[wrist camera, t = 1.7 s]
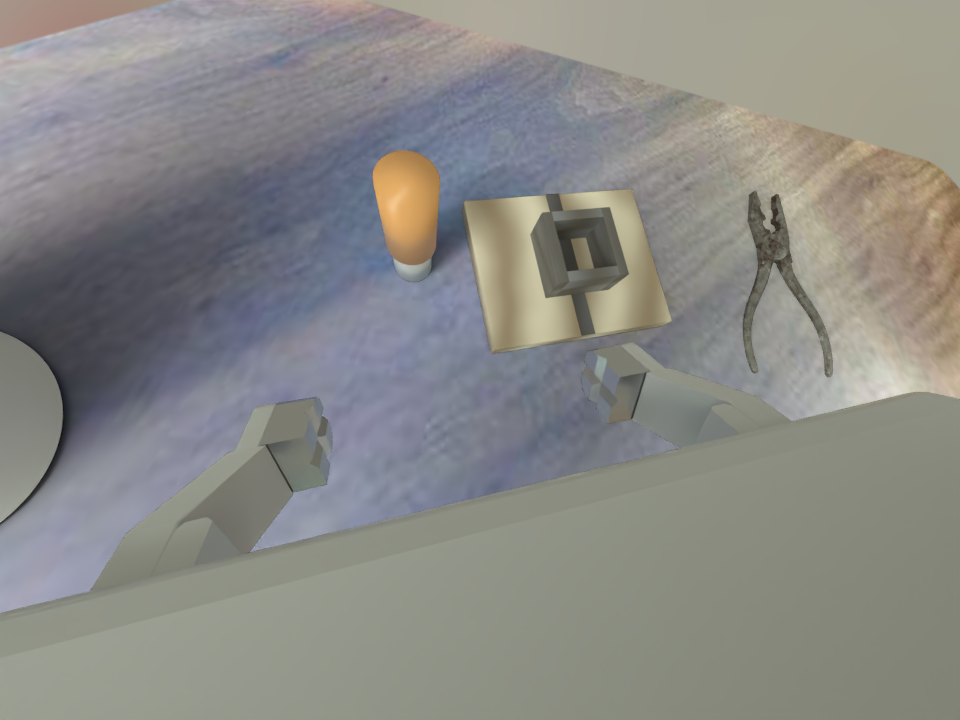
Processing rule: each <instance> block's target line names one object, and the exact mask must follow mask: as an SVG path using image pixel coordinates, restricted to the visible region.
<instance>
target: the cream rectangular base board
mask: <svg viewBox="0 0 960 720" xmlns="http://www.w3.org/2000/svg"><path fill="white" fill-rule="evenodd" d="M462 215H463V220H464V225H465V230H466V234H467V239H468V244H469V249H470V254H471V259H472V264H473V268H474V273H475V278H476V283H477V288H478V293H479V298H480V303H481V307H482V312H483V317H484V322H485V327H486V332H487V337H488V341H489V346H490V351H491V354H494V353H500V352H506V351H513V350H519V349H525V348H531V347H537V346H543V345H550V344H556V343H562V342H568V341H574V340H580V339H586V338H593V337H599V336H605V335H611V334H617V333H623V332H630V331H636V330H642V329H648V328H654V327H660V326H663V325H665V324H667V323H669V322H672V320H671V316H670V313H669V310H668V307H667V303H666V300H665V297H664V293H663V290H662V287H661V284H660V280H659V277H658V274H657V270H656V267H655V264H654V261H653V257H652V254H651V251H650V247H649V244H648V241H647V238H646V234H645V231H644V228H643V224H642V221H641V218H640V215H639V211H638V208H637V205H636V201H635V198H634V195H633V192H632V189H627V190H613V191H599V192H585V193H571V194H546V195H543V196H529V197H515V198H501V199H487V200H473V201H464V203H463V209H462Z"/></svg>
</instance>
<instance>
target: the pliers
mask: <svg viewBox="0 0 960 720" xmlns="http://www.w3.org/2000/svg"><path fill="white" fill-rule="evenodd" d="M771 210H772V212H773V218H772V220H771V224H772V225H774V226H775V229H776V231H775V232H773V233H772V234H771V232H770V230H767V229H765V227H764V226H763V221H764V220H765V219H766V218H765V215H764V214H763V213H762V212H761V209H760V201H759V198H758V195H757V192H756V191H754V192H753V193H751V194H750V195H749V211H748V223H749V226H750V229H751V232H752V235H753V238H754V242H755V245H756V248H757V256H758V271H757V276H756V280H755V283H754V286H753V288H752V291H751V294H750V297H749V300H748V302H747V305H746V309H745V313H744V319H743V337H744V346H745V351H746V356H747V359H748V363H749V366H750V368H751V371H752V372H753V373H757V372H758V368H757V364H756V360H755V357H754V353H753V348H752V340H751V325H752V319H753V315H754V312H755V309H756V307H757V304H758V302H759V300H760V297H761V295H762V293H763V291H764V289H765V287H766V284H767V282H768V278H769V275H770V271H771V267H772V264H773V262H775V263H776V264H777V267H778V269H779V271H780V273H781V275H782V277H783V279H784V280H785V282H786V284H787V285H788V287H789V288H790V290H791V291H792V293H793V294H794V296H795V297H796V298H797V300H798V301H799V302H800V304H801V305H802V307H803V308H804V310H805V311H806V313H807V314H808V316H809V317H810V319H811V320H812V322H813V324H814V326H815V328H816V330H817V333H818V336H819V338H820V342H821V345H822V349H823V355H824V365H825V375H826V376H827V377H831V376H832V373H833V360H832V352H831V347H830V342H829V338H828V335H827V332H826V329H825V326H824V324H823V322H822V319H821V318H820V316H819V314H818V312H817V310H816V309H815V307H814V306H813V304H812V303H811V301H810V300H809V298H808V296H807V295H806V293H805V292H804V290H803V289H802V287H801V285H800V284H799V282H798V280H797V278H796V276H795V274H794V272H793V269H792V265H791V263H792V258H791V254H790V251H789V236H788V231H787V225H786V221H785V217H784V213H783V210H782V206H781V202H780V198H779V195H778V194H776V195H775V196H773V197H772V198H771ZM776 261H777V262H776Z"/></svg>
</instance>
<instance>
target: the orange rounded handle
mask: <svg viewBox="0 0 960 720" xmlns="http://www.w3.org/2000/svg"><path fill="white" fill-rule="evenodd" d="M373 183H374V188H375V193H376V198H377V203H378V207H379V212H380V217H381V222H382V226H383V231H384V236H385V241H386V245H387V249H388V251H389V253H390V254H391V256H392V257H393V260H394V265H395V270H396V272H397V274H398V275H399V276H400V277H401V278H402V279H404V280H406V281H410V282H418V281H421V280H423V279H425V278H426V277H427V276H428V275H429V273H430V271H431V260H432V256H433V254H434V252H435V249H436V240H437V223H438V207H439V190H440V177H439V174H438V171H437V169H436V167H435V166H434V165H433V163H432V162H431V161H430V160H428V159H427V158H426V157H424V156H423V155H421V154H418V153H416V152H412V151H395V152H392V153H389V154H387V155H385V156H384V157H382V158H381V159H380V160H379V161H378V162H377V164H376V166H375V168H374V171H373Z"/></svg>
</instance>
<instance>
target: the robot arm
mask: <svg viewBox="0 0 960 720" xmlns="http://www.w3.org/2000/svg"><path fill="white" fill-rule="evenodd" d="M584 362H585V364H586V365H587V368H586V369H585V370H584V371H583V372H582V378H581V384H582V390H583V392H584V394H585V396H586V397H587V398H588V400H589V401H592V402H594V403H596V404H597V407H596V410H597V411H598V412H599V414H600V415H601V416H602V417H603V419H604V420H605V421H606V422H607V424H609V423H614V422H619V421H625V420H630V419H632V421H634V422H636V423H638V424H639V425H641V426H643V427H644V428H646V429H648V430H650V431H651V432H653V433H655V434H657V435H658V436H660V437H662V438H664V439H665V440H667V441H669V442H670V443H672V444H674V445H676V446H677V447H679V448H680V449H675V450H671V451H667V452H663V453H659V454H655V455H651V456H647V457H642V458H638V459H634V460H630V461H626V462H622V463H618V464H613V465H609V466H605V467H601V468H597V469H593V470H589V471H584V472H580V473H576V474H572V475H568V476H564V477H559V478H555V479H551V480H547V481H543V482H539V483H535V484H531V485H526V486H522V487H518V488H514V489H510V490H506V491H502V492H498V493H493V494H489V495H485V496H481V497H477V498H473V499H469V500H465V501H460V502H456V503H452V504H448V505H444V506H440V507H436V508H431V509H427V510H423V511H419V512H415V513H411V514H407V515H403V516H398V517H394V518H390V519H386V520H382V521H378V522H374V523H369V524H365V525H361V526H357V527H353V528H349V529H345V530H341V531H336V532H332V533H328V534H324V535H320V536H316V537H312V538H308V539H303V540H299V541H295V542H291V543H287V544H283V545H279V546H274V547H270V548H266V549H262V550H258V551H254V552H250V551H251V549H252V548H253V547H254V545H255V544H256V543H257V541H258V540H259V539H260V538H261V536H262V535H263V534H264V532H265V531H266V530H267V528H268V527H269V526H270V524H271V523H272V522H273V520H274V519H275V518H276V516H277V515H278V514H279V513H280V511H281V510H282V509H283V507H284V506H285V505H286V503H287V502H288V501H289V499H290V498H291V497H292V495H293V493H294V492H298V491H302V490H306V489H310V488H314V487H318V486H323V485H327V480H328V474H329V468H330V463H329V461H328V459H327V457H328V455H329V454H330V453H331V452H332V447H333V437H332V430H331V426H330V423H329V421H328V419H326V418H325V417H323V416H322V413H323V406H322V403H321V401H320V399H319V398H318V397H312V398H305V399H299V400H292V401H285V402H279V403H273V404H267V405H261V406H258V407H256V408H255V409H254V410H253V412H252V415H251V417H250V419H249V421H248V423H247V425H246V428H245V430H244V432H243V434H242V436H241V439H240V441H239V443H238V445H237V447H236V449H235V451H233V452H228V453H227V454H226V455H224V456H223V457H222V458H221V459H219V460H218V461H217V462H215V463H214V464H213V465H212V466H210V467H209V468H208V469H207V470H205V471H204V472H203V473H202V474H200V475H199V476H198V477H197V478H195V479H194V480H193V481H192V482H190V483H189V484H188V485H187V486H185V487H184V488H183V489H181V490H180V491H179V492H178V493H176V494H175V495H174V496H173V497H171V498H170V499H169V500H168V501H166V502H165V503H164V504H163V505H161V506H160V507H159V508H158V509H156V510H155V511H154V512H153V513H151V514H150V515H149V516H147V517H146V518H145V519H144V520H142V521H141V522H140V523H139V524H137V525H136V526H135V527H134V528H132V529H131V530H130V531H129V532H127V533H126V535H125V536H124V538H123V540H122V541H121V543H120V544H119V546H118V547H117V549H116V551H115V552H114V554H113V555H112V557H111V558H110V560H109V562H108V563H107V565H106V566H105V568H104V570H103V571H102V573H101V574H100V576H99V577H98V579H97V581H96V582H95V584H94V585H93V587H92V588H91V590H90V591H89V592H84V593H80V594H76V595H72V596H68V597H64V598H60V599H55V600H51V601H47V602H43V603H39V604H35V605H31V606H27V607H22V608H18V609H14V610H10V611H6V612H2V613H0V720H960V399H957V398H953V397H949V396H944V395H939V394H934V393H929V392H913V393H907V394H902V395H898V396H894V397H890V398H886V399H882V400H878V401H874V402H870V403H866V404H861V405H857V406H853V407H849V408H845V409H841V410H837V411H832V412H828V413H824V414H820V415H816V416H812V417H808V418H803V419H799V420H795V421H791V420H789V419H788V418H787V417H785V416H784V415H782V414H781V413H779V412H778V411H777V410H775V409H774V408H772V407H771V406H769V405H768V404H767V403H765V402H764V401H762V400H761V399H759V398H758V397H757V396H755V395H752V394H748V393H745V392H742V391H739V390H736V389H733V388H730V387H727V386H724V385H721V384H718V383H715V382H712V381H709V380H705V379H702V378H699V377H696V376H693V375H690V374H687V373H684V372H681V371H678V370H675V369H672V368H668V369H666V368H664V367H663V366H662V365H661V364H660V363H658V362H657V361H656V360H655V359H653V358H652V357H651V356H650V355H649V354H647V353H646V352H645V351H644V350H642V349H641V348H640V347H639V346H637V345H636V344H634V343H631V342H630V343H625V344H620V345H616V346H612V347H606V348H601V349H595V350H590V351H587V353H586V355H585V360H584ZM62 422H63V405H62V398H61V393H60V390H59V386H58V384H57V381H56V379H55V377H54V375H53V373H52V371H51V370H50V368H49V367H48V365H47V364H46V363H45V361H44V360H43V359H42V358H41V357H40V356H39V355H38V354H37V353H36V352H35V351H34V350H33V349H31V348H30V347H29V346H27V345H26V344H24V343H23V342H21V341H20V340H18V339H16V338H14V337H12V336H10V335H8V334H5V333H3V332H0V522H2V521H3V520H4V519H5V518H6V517H8V516H9V515H10V514H11V513H12V512H13V511H14V510H15V509H16V508H17V507H18V506H19V505H20V504H21V503H22V502H23V501H24V500H25V499H26V498H27V497H28V496H29V495H30V493H31V492H32V491H33V490H34V488H35V487H36V486H37V484H38V483H39V482H40V480H41V478H42V477H43V475H44V474H45V472H46V470H47V469H48V467H49V465H50V463H51V461H52V459H53V456H54V454H55V451H56V449H57V446H58V443H59V439H60V435H61V430H62ZM249 552H250V553H249Z"/></svg>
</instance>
